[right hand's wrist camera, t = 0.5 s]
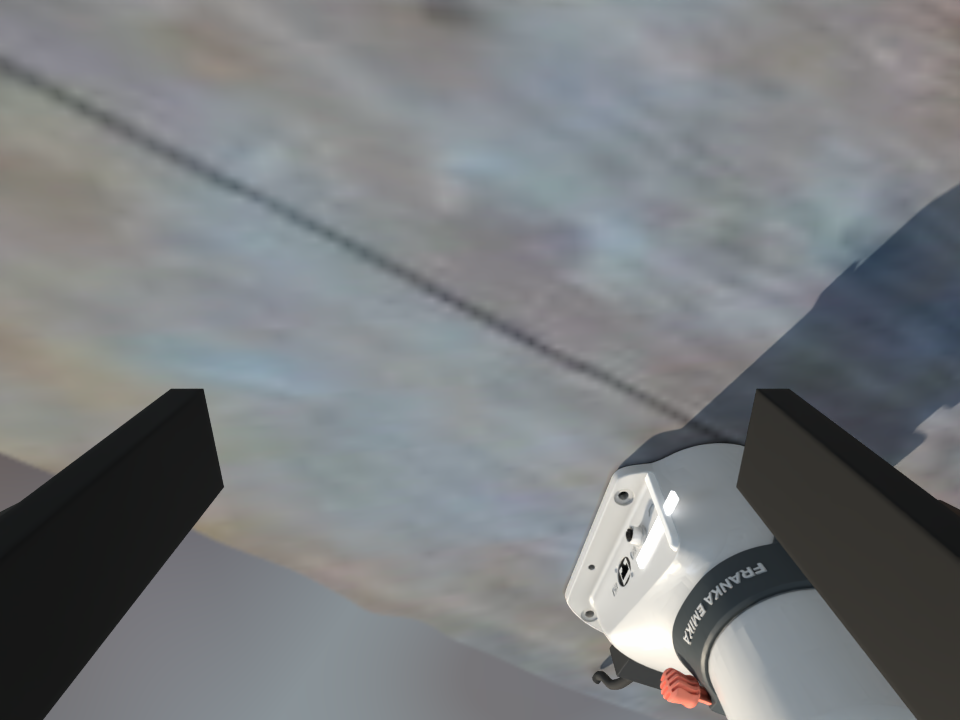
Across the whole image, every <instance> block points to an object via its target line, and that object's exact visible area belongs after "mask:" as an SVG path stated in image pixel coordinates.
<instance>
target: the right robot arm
mask: <svg viewBox="0 0 960 720" xmlns="http://www.w3.org/2000/svg"><path fill="white" fill-rule="evenodd" d="M223 488H224V485H223V480H222V475H221V471H220V466H219V461H218V456H217V451H216V447H215V442H214V437H213V432H212V428H211V423H210V418H209V413H208V408H207V404H206V399H205V394H204V389H170V390H169V391H168V392H166V393H165V394H164V395H162V396H161V397H159V398H158V399H157V400H155V401H154V402H153V403H151V404H150V405H149V406H147V407H146V408H145V409H143V410H142V411H141V412H139V413H138V414H137V415H135V416H134V417H133V418H131V419H130V420H129V421H127V422H126V423H125V424H123V425H122V426H121V427H119V428H118V429H117V430H115V431H114V432H113V433H111V434H110V435H109V436H107V437H106V438H105V439H103V440H102V441H101V442H99V443H98V444H97V445H95V446H94V447H93V448H91V449H90V450H89V451H87V452H86V453H85V454H83V455H82V456H81V457H79V458H78V459H77V460H75V461H74V462H73V463H71V464H70V465H69V466H67V467H66V468H65V469H63V470H62V471H61V472H59V473H58V474H57V475H55V476H54V477H53V478H51V479H50V480H49V481H47V482H46V483H45V484H43V485H42V486H41V487H39V488H38V489H37V490H35V491H34V492H33V493H31V494H30V495H29V496H27V497H26V498H25V499H23V500H22V501H21V502H19V503H17V504H15V505H13V506H11V507H9V508H7V509H5V510H3V511H1V512H0V720H43V719H44V718H45V717H46V715H47V714H48V713H49V711H50V710H51V709H52V707H53V706H54V705H55V704H56V702H57V701H58V700H59V698H60V697H61V696H62V695H63V693H64V692H65V691H66V689H67V688H68V687H69V686H70V684H71V683H72V682H73V680H74V679H75V678H76V677H77V675H78V674H79V673H80V671H81V670H82V669H83V668H84V666H85V665H86V664H87V662H88V661H89V660H90V659H91V657H92V656H93V655H94V653H95V652H96V651H97V650H98V648H99V647H100V646H101V644H102V643H103V642H104V641H105V639H106V638H107V637H108V635H109V634H110V633H111V632H112V630H113V629H114V628H115V626H116V625H117V624H118V623H119V621H120V620H121V619H122V617H123V616H124V615H125V614H126V612H127V611H128V610H129V608H130V607H131V606H132V604H133V603H134V602H135V601H136V599H137V598H138V597H139V596H140V594H141V593H142V592H143V590H144V589H145V588H146V587H147V585H148V584H149V583H150V581H151V580H152V579H153V578H154V576H155V575H156V574H157V572H158V571H159V570H160V569H161V567H162V566H163V565H164V563H165V562H166V561H167V559H168V558H169V557H170V556H171V554H172V553H173V552H174V550H175V549H176V548H177V547H178V545H179V544H180V543H181V542H182V540H183V539H184V538H185V536H186V535H187V534H188V532H189V531H190V530H191V529H192V527H193V526H194V525H195V524H196V522H197V521H198V520H199V518H200V517H201V516H202V515H203V513H204V512H205V511H206V509H207V508H208V507H209V506H210V504H211V503H212V502H213V500H214V499H215V498H216V497H217V495H218V494H219V493H220V491H221V490H222V489H223ZM736 488H737V489H738V490H739V491H740V493H741V494H742V495H743V497H744V498H745V499H746V500H747V502H748V503H749V504H750V506H751V507H752V508H753V509H754V511H755V512H756V513H757V515H758V516H759V517H760V518H761V520H762V521H763V522H764V524H765V525H766V526H767V527H768V529H769V530H770V531H771V533H772V534H773V535H774V536H775V538H776V539H777V540H778V542H779V543H780V544H781V545H782V547H783V548H784V549H785V551H786V552H787V553H788V554H789V556H790V557H791V558H792V560H793V561H794V562H795V563H796V565H797V566H798V567H799V569H800V570H801V571H802V572H803V574H804V575H805V576H806V578H807V579H808V580H809V581H810V583H811V584H812V585H813V587H814V588H815V589H816V590H817V592H818V593H819V594H820V596H821V597H822V598H823V599H824V601H825V602H826V603H827V605H828V606H829V607H830V608H831V610H832V611H833V612H834V614H835V615H836V616H837V617H838V619H839V620H840V621H841V623H842V624H843V625H844V626H845V628H846V629H847V630H848V632H849V633H850V634H851V635H852V637H853V638H854V639H855V641H856V642H857V643H858V644H859V646H860V647H861V648H862V650H863V651H864V652H865V653H866V655H867V656H868V657H869V659H870V660H871V661H872V662H873V664H874V665H875V666H876V668H877V669H878V670H879V671H880V673H881V674H882V675H883V677H884V678H885V679H886V680H887V682H888V683H889V684H890V686H891V687H892V688H893V689H894V691H895V692H896V693H897V695H898V696H899V697H900V698H901V700H902V701H903V702H904V704H905V705H906V706H907V708H908V709H909V710H910V711H911V713H912V714H913V715H914V717H915V718H916V719H917V720H960V510H959V509H957V508H955V507H953V506H951V505H949V504H947V503H945V502H943V501H941V500H937V499H935V498H934V497H933V496H931V495H930V494H929V493H927V492H926V491H925V490H923V489H922V488H921V487H919V486H918V485H917V484H915V483H914V482H913V481H911V480H910V479H909V478H907V477H906V476H905V475H903V474H902V473H901V472H899V471H898V470H897V469H895V468H894V467H893V466H891V465H890V464H889V463H887V462H886V461H885V460H883V459H882V458H881V457H879V456H878V455H877V454H875V453H874V452H873V451H871V450H870V449H869V448H867V447H866V446H865V445H863V444H862V443H861V442H859V441H858V440H857V439H855V438H854V437H853V436H851V435H850V434H849V433H847V432H846V431H845V430H843V429H842V428H841V427H839V426H838V425H837V424H835V423H834V422H833V421H831V420H830V419H829V418H827V417H826V416H825V415H823V414H822V413H821V412H819V411H818V410H817V409H815V408H814V407H813V406H811V405H810V404H809V403H807V402H806V401H805V400H803V399H802V398H801V397H799V396H798V395H796V394H795V393H794V392H792V391H791V390H790V389H756V394H755V399H754V404H753V408H752V413H751V418H750V423H749V428H748V432H747V437H746V442H745V447H744V451H743V456H742V461H741V466H740V471H739V475H738V480H737V485H736Z"/></svg>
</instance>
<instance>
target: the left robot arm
mask: <svg viewBox="0 0 960 720" xmlns="http://www.w3.org/2000/svg"><path fill="white" fill-rule="evenodd" d="M744 447H745V446H741V445H736V444H728V443H712V444H703V445H698V446H694V447H690V448H687V449H684V450H681V451H678V452H676V453H674V454H672V455H670V456H668V457H665V458H663V459H661V460H659V461H656V462H653V463H649V464H639V465H632V466H627V467H623V468H621V469H619V470H617V471H616V472H615V473H614V474H613V476H612V478H611V480H610V483H609V485H608V488H607V490H606V492H605V495H604V497H603V500H602V502H601V505H600V507H599V510H598V512H597V515H596V517H595V519H594V522H593V524H592V527H591V529H590V532H589V534H588V537H587V539H586V542H585V544H584V546H583V549H582V551H581V554H580V556H579V559H578V561H577V564H576V566H575V569H574V571H573V573H572V576H571V578H570V581H569V583H568V586H567V588H566V592H565V598H566V601H567V603H568V605H569V607H570V608H571V609H572V611H573V612H574V613H575V614H576V615H577V616H578V617H579V618H580V619H581V620H583V621H584V622H585V623H587V624H588V625H590V626H591V627H593V628H595V629H597V630H599V631H600V632H603V633H605V635H606V637H607V638H608V640H609V641H610V642H611V643H612V646H611V647H610V652H611V656H612V660H613V663H614V667H615V671H616V675H617V676H618V677H620V678H618V679H615V680H612V679H611V678H610V677H609V676H608V675H607V674H606V673H605V672H603V671H597V672H596V673H595V674H594V675H593V677H592V678H593V681H594V682H595V683H596V684H599V683H600V681H602V682H603V683H604V684H605V685H606V686H607V687H608V688H609V689H612V690H618V689H622V688H624V687H626V686H627V685H629V684H630V683H632V682H633V681H634V682H637V683H641V684H644V685H647V686H650V687H653V688H657V689H660V690H661V693H662V695H664V696H663V697H664V699H666V700H667V701H669V702H673V703H681V704H683V705H684V706H685V707H687V708H693V707H695V706H696V705H697V703H698V701H699V702H702V703H705V704H707V705H709V707H710V709H711V710H712V711H714V712H716V713H719V714H722V715H725V716H726V717H727V719H728V720H917V719H916V718H915V717H914V715H913V714H912V713H911V711H910V710H909V709H908V708H907V706H906V705H905V704H904V702H903V701H902V700H901V698H900V697H899V696H898V695H897V693H896V692H895V691H894V689H893V688H892V687H891V686H890V684H889V683H888V682H887V680H886V679H885V678H884V677H883V675H882V674H881V673H880V671H879V670H878V669H877V668H876V666H875V665H874V664H873V662H872V661H871V660H870V659H869V657H868V656H867V655H866V653H865V652H864V651H863V650H862V648H861V647H860V646H859V644H858V643H857V642H856V641H855V639H854V638H853V637H852V635H851V634H850V633H849V632H848V630H847V629H846V628H845V626H844V625H843V624H842V623H841V621H840V620H839V619H838V617H837V616H836V615H835V614H834V612H833V611H832V610H831V608H830V607H829V606H828V605H827V603H826V602H825V601H824V599H823V598H822V597H821V596H820V594H819V593H818V592H817V590H816V589H815V588H814V587H813V585H812V584H811V583H810V581H809V580H808V579H807V578H806V576H805V575H804V574H803V572H802V571H801V570H800V569H799V567H798V566H797V565H796V563H795V562H794V561H793V560H792V558H791V557H790V556H789V554H788V553H787V552H786V551H785V549H784V548H783V547H782V545H781V544H780V543H779V542H778V540H777V539H776V538H775V536H774V535H773V534H772V533H771V531H770V530H769V529H768V527H767V526H766V525H765V524H764V522H763V521H762V520H761V518H760V517H759V516H758V515H757V513H756V512H755V511H754V509H753V508H752V507H751V506H750V504H749V503H748V502H747V500H746V499H745V498H744V497H743V495H742V494H741V493H740V491H739V490H738V489H737V488H736V485H737V480H738V475H739V471H740V466H741V461H742V456H743V451H744ZM623 491H625V492H626V493H625V494H623V495H619V493H621V492H623ZM697 680H698V681H699V683H700V685H699V683H698V681H697Z"/></svg>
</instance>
